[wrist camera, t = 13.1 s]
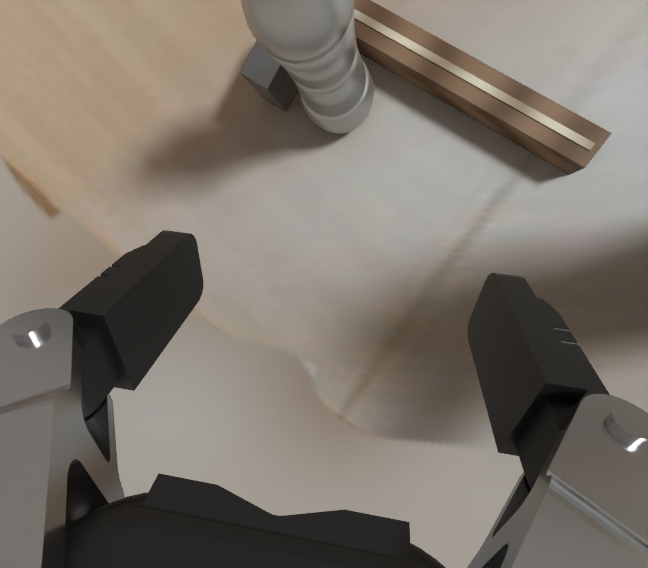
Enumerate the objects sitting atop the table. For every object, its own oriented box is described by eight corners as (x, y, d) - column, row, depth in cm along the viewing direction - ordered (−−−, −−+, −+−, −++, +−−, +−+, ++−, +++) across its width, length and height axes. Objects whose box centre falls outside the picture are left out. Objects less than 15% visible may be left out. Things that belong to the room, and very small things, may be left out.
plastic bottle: (335, 154, 34) (246, 26, 15) (296, 99, 35) (159, -95, 15) (389, 109, 33) (371, -98, 13) (348, 53, 33) (272, -230, 14)
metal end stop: (323, 45, 33) (309, 10, 29) (285, 111, 35) (267, 89, 30) (298, 30, 34) (280, -7, 29) (262, 96, 35) (240, 72, 30)
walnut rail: (594, 143, 29) (612, 132, 27) (570, 174, 30) (585, 167, 27) (324, -8, 33) (318, -29, 30) (307, 22, 34) (300, 4, 31)
